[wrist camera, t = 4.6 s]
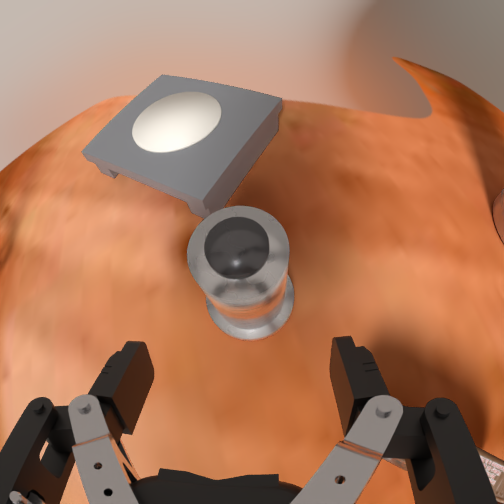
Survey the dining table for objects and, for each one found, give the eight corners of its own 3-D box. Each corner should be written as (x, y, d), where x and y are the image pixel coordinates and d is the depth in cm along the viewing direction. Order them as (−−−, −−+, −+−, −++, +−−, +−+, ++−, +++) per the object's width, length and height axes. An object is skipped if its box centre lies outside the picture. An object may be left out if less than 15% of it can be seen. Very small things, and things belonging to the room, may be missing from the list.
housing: (307, 281, 24) (325, 219, 15) (268, 356, 21) (264, 336, 13) (235, 247, 25) (215, 174, 17) (193, 315, 23) (147, 271, 15)
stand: (282, 128, 31) (282, 96, 27) (212, 227, 26) (201, 198, 22) (170, 99, 35) (161, 72, 31) (97, 175, 30) (80, 149, 26)
